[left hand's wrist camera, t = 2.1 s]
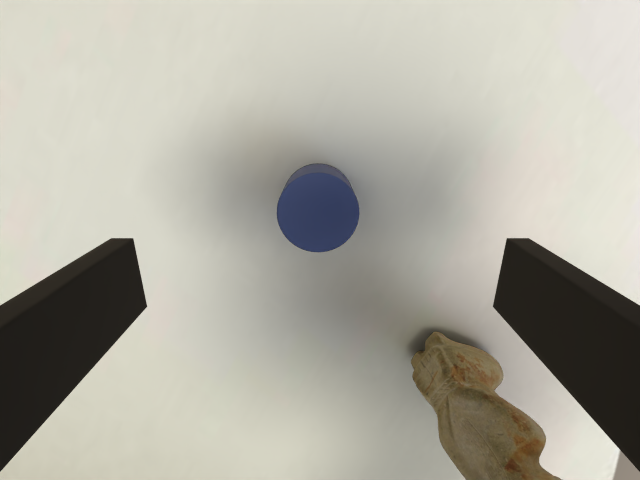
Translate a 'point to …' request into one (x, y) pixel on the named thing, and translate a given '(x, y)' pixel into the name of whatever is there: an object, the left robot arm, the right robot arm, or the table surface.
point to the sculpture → (477, 413)
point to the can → (318, 208)
